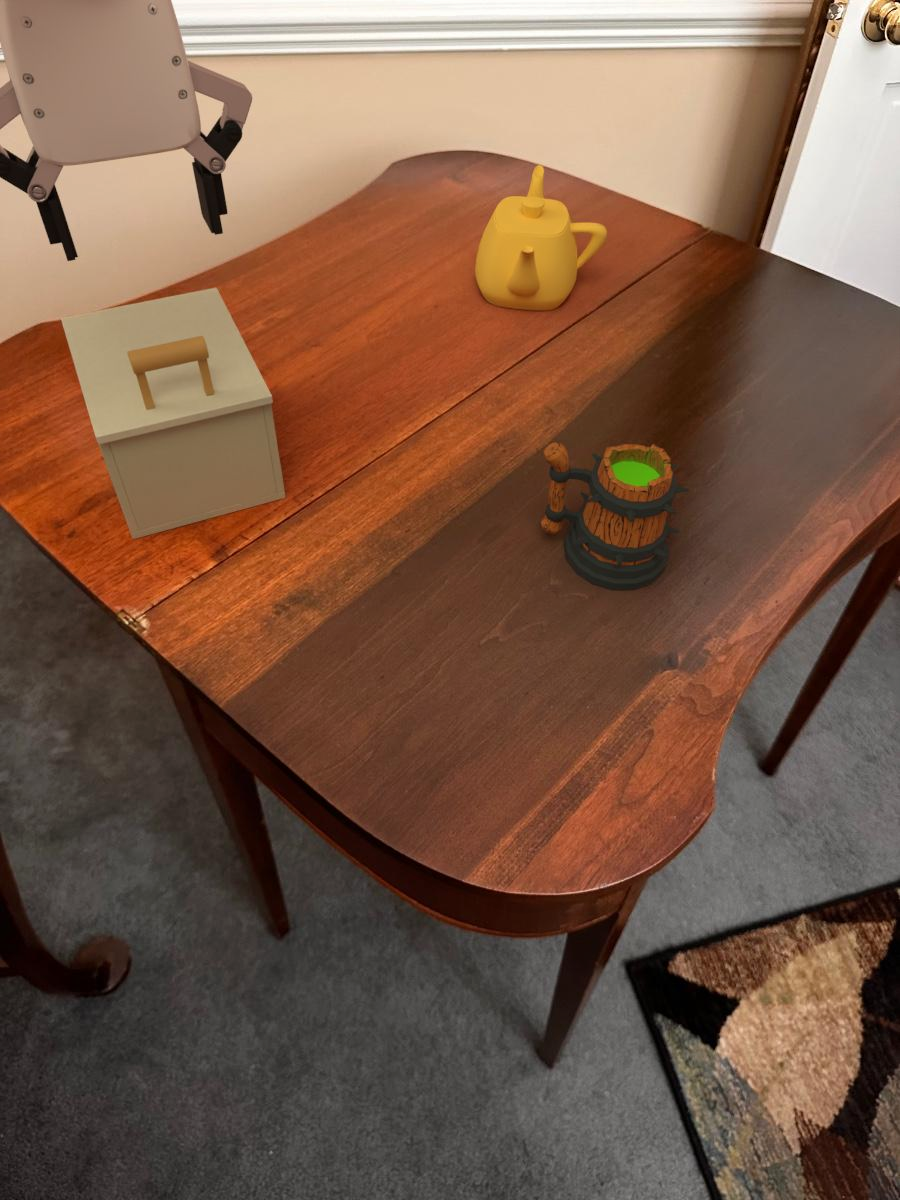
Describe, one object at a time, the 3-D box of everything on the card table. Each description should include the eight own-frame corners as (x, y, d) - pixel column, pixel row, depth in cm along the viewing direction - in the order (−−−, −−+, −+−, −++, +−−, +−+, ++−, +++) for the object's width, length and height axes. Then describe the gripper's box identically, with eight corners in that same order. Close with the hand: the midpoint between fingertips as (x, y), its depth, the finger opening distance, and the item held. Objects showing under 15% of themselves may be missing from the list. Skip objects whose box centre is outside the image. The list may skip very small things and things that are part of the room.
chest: (286, 497, 84) (270, 397, 75) (132, 539, 80) (96, 438, 71) (237, 394, 94) (218, 294, 85) (98, 426, 90) (63, 325, 81)
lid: (273, 403, 74) (263, 341, 70) (98, 445, 70) (75, 382, 66) (218, 294, 85) (206, 234, 80) (63, 325, 81) (41, 263, 76)
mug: (670, 521, 83) (700, 425, 75) (669, 601, 77) (702, 506, 68) (536, 502, 85) (549, 406, 76) (524, 579, 78) (537, 484, 69)
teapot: (595, 341, 103) (610, 254, 94) (464, 328, 104) (469, 241, 95) (598, 248, 117) (612, 166, 108) (483, 237, 118) (488, 155, 109)
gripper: (209, -100, 51) (251, 193, 64) (-116, -78, 46) (2, 235, 59) (244, -66, 46) (282, 241, 60) (-111, -38, 41) (16, 290, 55)
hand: (142, 237), depth 59 cm, fingers open, 9 cm apart
